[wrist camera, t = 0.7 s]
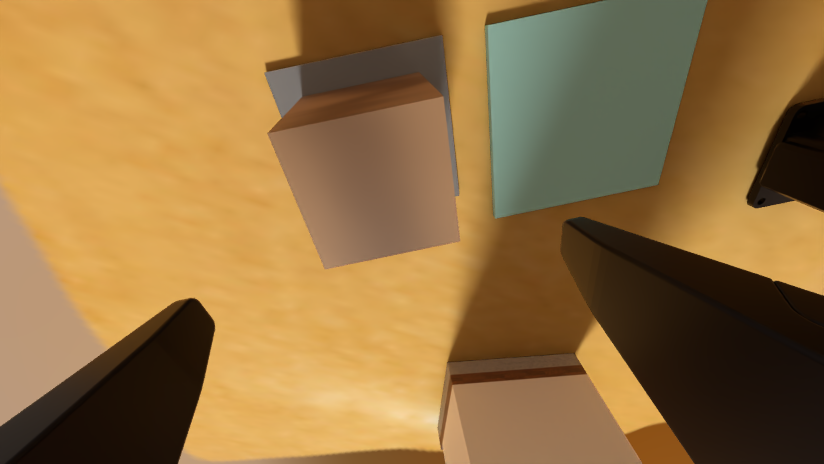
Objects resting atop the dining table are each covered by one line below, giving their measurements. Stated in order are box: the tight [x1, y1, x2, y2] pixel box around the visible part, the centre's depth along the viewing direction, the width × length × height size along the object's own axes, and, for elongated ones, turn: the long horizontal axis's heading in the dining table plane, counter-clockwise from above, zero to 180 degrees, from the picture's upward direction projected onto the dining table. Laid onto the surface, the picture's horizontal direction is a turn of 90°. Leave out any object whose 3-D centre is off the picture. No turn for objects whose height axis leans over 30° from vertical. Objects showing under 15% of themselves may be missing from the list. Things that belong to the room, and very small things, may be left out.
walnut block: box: [267, 72, 460, 269], centre depth 14 cm, size 6×6×6 cm
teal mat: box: [485, 0, 708, 219], centre depth 17 cm, size 10×10×1 cm
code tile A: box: [265, 35, 459, 196], centre depth 17 cm, size 8×8×1 cm
